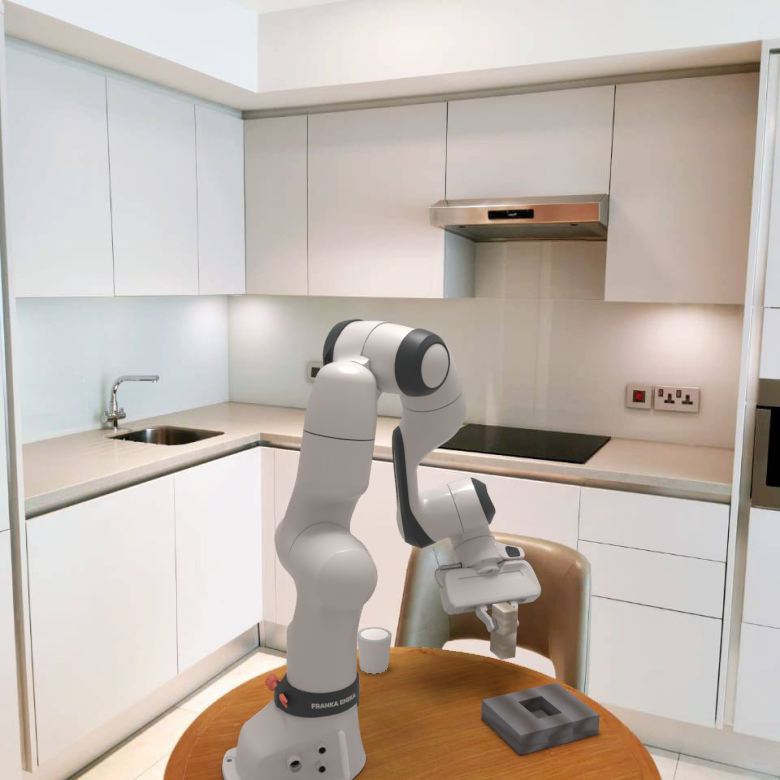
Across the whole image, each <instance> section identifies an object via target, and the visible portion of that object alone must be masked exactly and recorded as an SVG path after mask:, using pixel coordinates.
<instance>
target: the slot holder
mask: <svg viewBox="0 0 780 780" xmlns="http://www.w3.org/2000/svg"><path fill="white" fill-rule="evenodd" d="M480 716H481V717H480V718H481V720H482V721H483V722H484V723H485V724H487V726H489V728H490V729H491V730H493V732H495V733H496V734H497V736H498V737H500V738H501V739H502V740H503V741H504V742H505V743H506V744H507V745H508V746H509V747H510V748H511V749H512V750H513V752H515V753H516V754H517V755H518V756H523V755H527V754H531V753H534V752H538V751H541V750H546V749H549V748H554V747H556V746H560V745H564V744H567V743H571V742H575V741H579V740H581V739H585V738H589V737H593V736H596V735H599V731H600V729H599V728H600V716H601V715H600V714H599V713H597V711H595V710H594V709H592V708H591V707H590V706H588V705H587V704H586V703H584V701H582V700H581V699H579V697H577V696H575V695H574V694H573V693H572V692H570V690H568V689H566V688H565V687H564V686H562V685H561V684H560V683H559V682H553V683H547V684H543V685H540V686H539V685H538V686H536V687H530V688H526V689H522V690H518V691H514V692H509V693H506V694H500V695H496V696H492V697H489V698H488V697H487V698H483V699H481V715H480Z"/></svg>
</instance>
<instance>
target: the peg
mask: <svg viewBox="0 0 780 780" xmlns="http://www.w3.org/2000/svg"><path fill="white" fill-rule="evenodd" d="M518 614H519V610H517V609H515V608H514V607H512V606H511V605H509V604H508V603H506V602H504V603H498V604H492V608H491V618H492V619H496V620H497V624H498V626H499V628H498V630H497V631H493V632H490V636H489V637H490V640H489V641H490V643H489V651H490V652H491V653H493V655H495V656H496V657H497V658H498V659H500V660H501V661H502V660H508V659H509V660H510V659H514V658H516V654H517V652H516V650H517V649H516V648H517V633H518V626H517V619H518Z"/></svg>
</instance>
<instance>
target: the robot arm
mask: <svg viewBox="0 0 780 780" xmlns="http://www.w3.org/2000/svg"><path fill="white" fill-rule="evenodd" d="M464 389H465V388H464V386H463V382H462V378H461V375H460V372H459V369H458V366H457V364H456V361H455V358H454V356H453V354H452V353H451V351H450V348H449V347H448V345H447V343H446V341H445V340H444V339H443V338H442V337H441V336H439V335H438V334H436V333H434V332H432V331H430V330H429V329H428V330H427V329H424V328H420V327H419V328H413V327H410V326H407V325H401V324H396V323H394V322H392V321H383V320H382V321H381V320H363V319H360V318H354V319H347V320H343V321H339V322H337V323H336V324H335V325H333V326H332V328H331V329H330V331H329V333H328V334H327V336H326V338H325V340H324V344H323V350H322V367H321V368H320V369H319V370H318V372H317V373H316V376H315V379H314V381H313V384H312V387H311V392H310V395H309V398H308V402H307V406H306V411H305V415H304V423H303V428H302V435H301V444H300V451H299V458H298V464H297V473H296V477H295V482H294V487H293V490H292V493H291V496H290V500H289V502H288V505H287V508H286V511H285V513H284V517H283V518H282V519H281V520H280V522H279V524H278V525H277V526H276V530H275V533H274V546H275V550H276V555H277V559H278V561H279V563H280V565H281V566H282V567H283V569H284V570H285V571H286V572H287V573H288V574H289V576H290V577H291V578H292V580H293V582H294V585H295V591H296V602H295V607H294V612H293V617H292V619H291V621H290V623H288V626H287V628H286V671H285V672H284V675H283V677H282V679H280V680H279V679H278V676H277V675H276V674H273V673H270V674H268V675H267V676H266V678H265V680H264V682H265V685H266V687H267V689H268V690H269V691H270V692H273V699H272V700H270V702H269V703H267V704H266V705H265V706H264V707H263V708H261V709H260V710H259V711H258V712H257V713H256V714H254V715H253V716H252V717H250V719H248V720H246V721H245V722H244V724H243V725H242V727H241V729H240V732H239V734H238V740H237V744H236V746H235V747H232V748H231V749H228V750H226V752H225V754H224V756H223V758H222V766H221V773H222V778H223V780H353V779H355V777H356V776H358V775H359V774H360V772H361V771H362V770H363V768H364V767H365V765H366V761H367V760H366V759H367V756H366V752H365V748H364V745H363V741H362V737H361V729H360V722H359V711H358V707H359V706H360V697H361V696H360V695H361V682H360V674H359V672H358V639H357V638H358V632H359V626H360V620H361V617H362V613H363V609H364V605H365V604H366V603H367V602H368V601H369V600H370V599H371V597H372V596H373V595H374V593H375V590H376V588H377V584H378V577H379V574H378V569H377V565H376V563H375V561H374V559H373V557H372V555H371V554H370V552H369V549H368V548H367V547H366V545H365V544H364V543H363V542H362V540H360V539H358V538H357V537H356V536H354V535H353V534H352V533H351V522H352V517H353V514H354V512H355V509H356V506H357V504H358V501H359V499H360V498H361V497H362V496H363V495H364V494H366V491H367V490H368V487H369V485H370V479H371V478H370V477H371V471H372V464H373V457H374V456H373V455H374V450H375V449H374V448H375V441H376V434H377V433H376V432H377V422H378V401H379V399H380V397H381V396H382V394H383V393H385V394H395V395H399V399H400V402H401V406H402V412H401V418H400V421H399V423H398V425H397V426H396V427H395V428H394V429H393V430H392V434H391V453H392V464H393V467H392V468H393V474H394V485H395V487H394V488H395V495H396V516H395V517H396V525H397V529H398V532H399V534H400V536H401V538H402V539H403V541H404V543H407V544H408V545H410V546H412V547H415V548H417V549H421V550H422V549H425V548H426V547H429V546H432V545H434V544H436V543H438V542H440V541H443V540H445V539H446V540H447V539H448V540H449V541H450V544H451V551H452V555H453V558H454V561H455V562H454V563H451V564H441V565H439V566H438V567H437V568H436V569H435V571H434V578H435V581H436V584H437V585H438V588H439V596H440V601H441V605H442V609H443V610H444V612H445V613H446V614H448V615H458V614H463V613H470V612H475V615H476V618H478V619H480V621H481V622H483V624H484V625H485V626H486V629H487V631H488V633H491V632H493V631H497V630H498V628H499V626H498V624H497V620H496V619H492V616H490V615H489V614H488V613H487V612H488V610H490V609H492V604H498V603H504V602H506V603H508V604H509V605H511V606H512V607H514V608H515V609H517V610H518V609H519V605H520V604H528V603H532V602H534V601H536V600H537V599H538V598H539V597H540V596H541V594H542V593H541V592H542V586H541V584H540V582H539V581H540V580H538V577H537V574H536V573H535V571H534V569H533V567H532V565H531V564H530V563H529V562H528V561H527V560H525V559H524V557H526V555H525V554H526V553H525V551H524V549H523V548H522V547H520V546H515V545H510V544H505V543H502V542H499V541H497V540H496V538H495V536H494V534H493V533H492V531H491V530H490V527H489V526H490V525H491V524H492V522H493V519H494V517H495V515H496V513H497V511H496V507H495V505H494V503H493V501H492V499H491V497H490V494H489V493H488V487H487V484H486V483H484V482H482V481H481V480H479V479H477V478H475V477H466V478H462V479H458V480H454V481H450V482H449V483H448V482H447V483H446V484H444V485H441V486H438V487H434V488H433V489H429V490H426V491H421V492H419V485H418V484H419V482H418V467H419V465H420V464H421V462H422V461H423V460H424V459H425V458H426V457H428V456H429V454H431V453H432V452H434V451H435V450H436V449H438V448H439V447H441V446H442V445H444V444H445V443H447V442H448V441H449V440H451V439H452V438H453V437H454V436H455V435H456V434H457V433H458V431H459V430H460V429H461V427H462V426H463V424H464V422H465V420H466V417H467V400H466V395H465V390H464ZM518 611H519V610H518ZM519 625H520V621H519V620H518V619H517V627H519Z"/></svg>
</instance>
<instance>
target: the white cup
mask: <svg viewBox="0 0 780 780" xmlns="http://www.w3.org/2000/svg"><path fill="white" fill-rule="evenodd" d="M392 634H393V633H392V632H391V631H390V630H388V629H387V628H383V627H377V626H376V627H375V626H372V627H366V628H362V629H360V630H358V638H357V652H358V660H359V661H358V662H359V669H360V670H361V671H362V672H363V671H364V672H363V673H365V672H367V673H366V674H368V673H372V674H371V675H377V674H376V673H380V674H382V673H381V672H383V673H385V672H386V671H388V669H387V668H389V663H390V654H391V645H392V636H393V635H392ZM385 670H386V671H385ZM384 671H385V672H384Z"/></svg>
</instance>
